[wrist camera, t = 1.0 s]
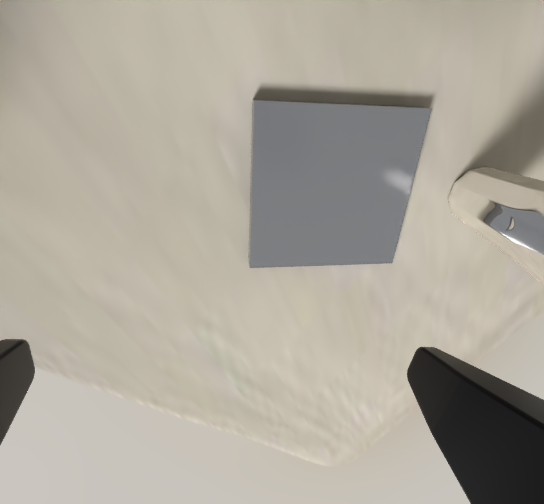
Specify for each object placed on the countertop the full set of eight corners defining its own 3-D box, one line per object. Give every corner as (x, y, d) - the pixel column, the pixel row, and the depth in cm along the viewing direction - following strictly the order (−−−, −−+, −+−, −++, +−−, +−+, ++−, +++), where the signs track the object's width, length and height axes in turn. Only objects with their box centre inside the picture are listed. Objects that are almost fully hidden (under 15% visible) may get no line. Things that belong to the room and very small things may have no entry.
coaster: (248, 262, 20) (249, 267, 20) (252, 99, 16) (254, 100, 16) (387, 258, 22) (392, 263, 21) (424, 107, 18) (431, 108, 17)
